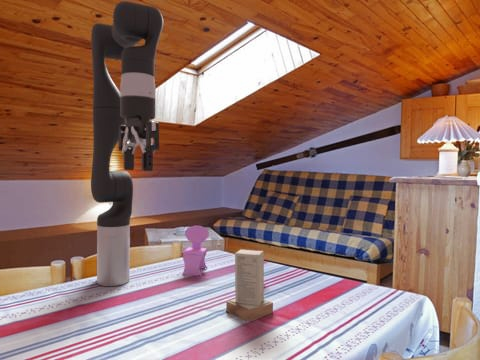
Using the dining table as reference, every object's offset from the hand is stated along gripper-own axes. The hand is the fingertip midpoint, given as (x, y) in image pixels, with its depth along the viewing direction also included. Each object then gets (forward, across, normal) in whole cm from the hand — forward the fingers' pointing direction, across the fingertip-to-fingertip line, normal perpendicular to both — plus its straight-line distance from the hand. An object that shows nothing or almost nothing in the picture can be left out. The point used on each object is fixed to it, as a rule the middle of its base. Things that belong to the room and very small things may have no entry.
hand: (137, 170), depth 83 cm
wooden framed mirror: (+34, -13, -23) cm, 43 cm away
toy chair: (+34, +23, -33) cm, 53 cm away
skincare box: (+32, -13, -23) cm, 41 cm away
